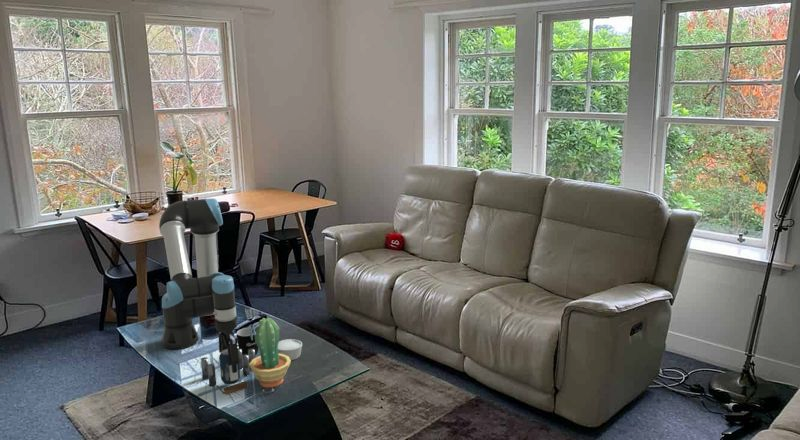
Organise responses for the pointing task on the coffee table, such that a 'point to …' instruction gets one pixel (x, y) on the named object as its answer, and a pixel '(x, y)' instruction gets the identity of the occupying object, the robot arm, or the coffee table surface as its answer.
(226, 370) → the soda can
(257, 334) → the potted cactus
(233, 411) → the coffee table surface
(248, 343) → the mug
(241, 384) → the walnut stop
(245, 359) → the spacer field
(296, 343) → the ramekin
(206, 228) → the robot arm
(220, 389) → the bay lines
